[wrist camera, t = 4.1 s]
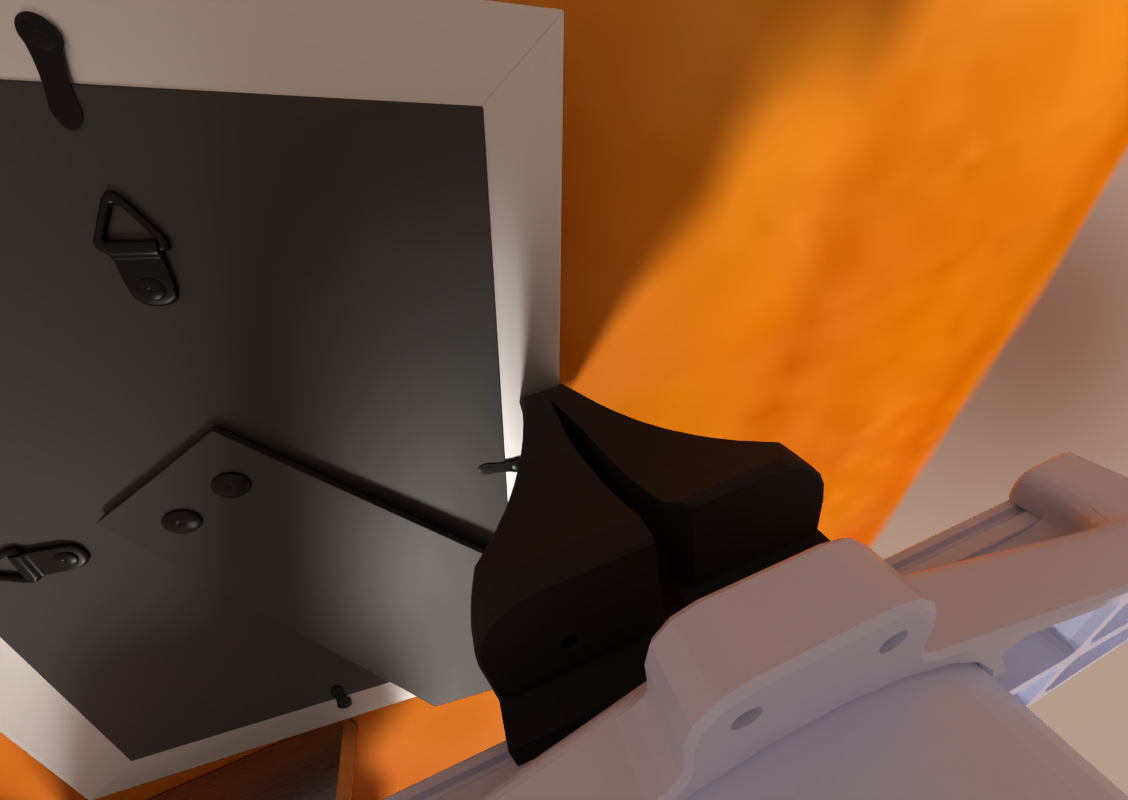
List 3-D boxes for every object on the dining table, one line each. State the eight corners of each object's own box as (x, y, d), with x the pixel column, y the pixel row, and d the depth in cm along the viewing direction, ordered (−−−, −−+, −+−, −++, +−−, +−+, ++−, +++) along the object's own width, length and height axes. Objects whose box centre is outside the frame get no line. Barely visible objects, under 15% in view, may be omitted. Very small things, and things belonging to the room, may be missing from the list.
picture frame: (542, 609, 20) (536, 34, 10) (561, 669, 18) (578, -4, 7) (124, 729, 15) (-694, -96, 5) (74, 831, 13) (-1577, -300, 3)
